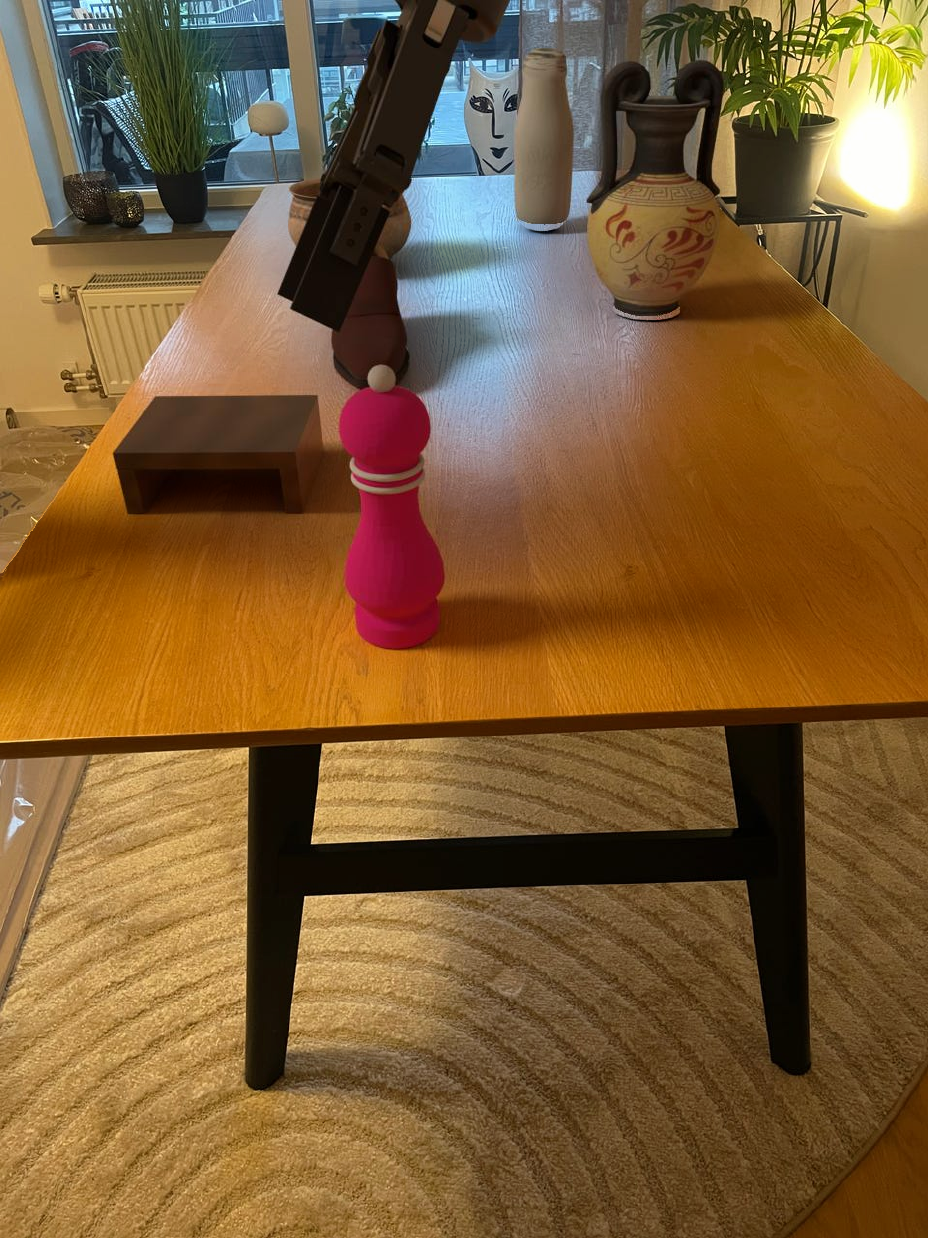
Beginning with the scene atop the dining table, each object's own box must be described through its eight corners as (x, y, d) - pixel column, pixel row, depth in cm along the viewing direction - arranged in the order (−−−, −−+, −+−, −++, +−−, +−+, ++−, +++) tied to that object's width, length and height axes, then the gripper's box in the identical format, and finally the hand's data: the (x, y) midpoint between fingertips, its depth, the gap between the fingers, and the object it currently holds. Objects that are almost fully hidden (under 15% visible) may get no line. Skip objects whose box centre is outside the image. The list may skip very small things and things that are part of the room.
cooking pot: (414, 289, 144) (410, 201, 137) (286, 294, 143) (275, 205, 136) (411, 247, 164) (408, 168, 157) (299, 250, 163) (291, 172, 156)
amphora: (675, 288, 142) (699, 51, 125) (733, 322, 129) (770, 62, 111) (562, 300, 138) (572, 57, 121) (611, 337, 125) (629, 70, 107)
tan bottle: (573, 224, 175) (580, 44, 159) (564, 238, 167) (572, 50, 151) (519, 222, 177) (521, 44, 161) (508, 236, 169) (510, 50, 153)
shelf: (127, 513, 88) (112, 452, 84) (167, 452, 98) (155, 395, 95) (303, 513, 87) (295, 451, 84) (323, 451, 98) (317, 394, 94)
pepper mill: (352, 658, 69) (325, 390, 58) (346, 603, 75) (320, 350, 64) (453, 648, 70) (445, 382, 59) (439, 594, 76) (430, 342, 64)
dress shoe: (331, 401, 109) (320, 296, 102) (337, 322, 132) (328, 232, 125) (413, 397, 109) (407, 292, 103) (404, 319, 132) (400, 229, 125)
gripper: (601, -99, 41) (396, 364, 47) (468, 19, 64) (340, 322, 69) (447, -210, 39) (248, 293, 44) (365, -47, 61) (240, 273, 67)
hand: (304, 311), depth 57 cm, fingers open, 13 cm apart
